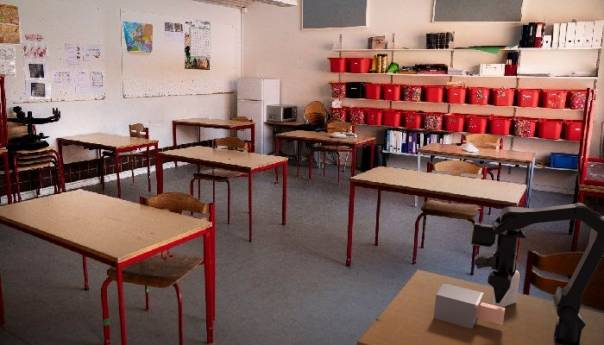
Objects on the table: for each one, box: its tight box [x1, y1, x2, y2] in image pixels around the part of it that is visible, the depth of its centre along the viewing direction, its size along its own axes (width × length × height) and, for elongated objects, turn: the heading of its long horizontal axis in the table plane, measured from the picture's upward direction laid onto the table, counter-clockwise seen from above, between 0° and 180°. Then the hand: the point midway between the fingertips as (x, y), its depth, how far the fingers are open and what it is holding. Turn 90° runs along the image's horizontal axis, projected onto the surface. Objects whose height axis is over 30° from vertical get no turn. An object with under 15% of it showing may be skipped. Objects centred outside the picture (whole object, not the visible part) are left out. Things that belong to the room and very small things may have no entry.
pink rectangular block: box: [475, 301, 506, 326], centre depth 158 cm, size 16×2×5 cm, turn 61°
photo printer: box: [490, 269, 521, 308], centre depth 171 cm, size 10×4×12 cm, turn 123°
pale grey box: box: [433, 283, 485, 330], centre depth 161 cm, size 13×10×8 cm
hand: (499, 297), depth 154 cm, fingers open, 9 cm apart
